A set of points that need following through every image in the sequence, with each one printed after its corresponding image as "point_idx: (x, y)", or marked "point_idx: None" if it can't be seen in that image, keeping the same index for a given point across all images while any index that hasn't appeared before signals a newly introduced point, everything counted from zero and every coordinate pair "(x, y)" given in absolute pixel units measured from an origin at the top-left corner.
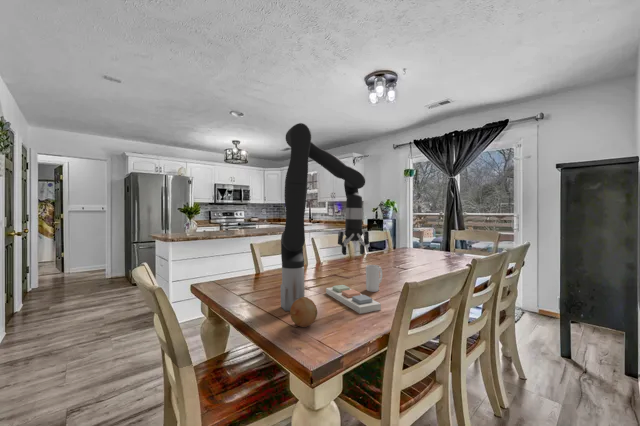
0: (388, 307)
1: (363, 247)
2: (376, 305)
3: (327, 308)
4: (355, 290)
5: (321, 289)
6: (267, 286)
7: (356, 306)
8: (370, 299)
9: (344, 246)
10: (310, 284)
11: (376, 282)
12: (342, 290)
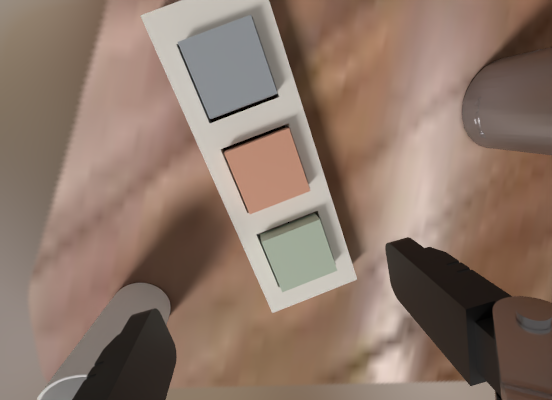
0: (105, 55)
1: (87, 397)
2: (167, 7)
3: (378, 78)
4: (242, 193)
5: (356, 315)
6: None
7: (270, 7)
8: (189, 38)
9: (500, 316)
10: (386, 375)
11: (108, 310)
12: (298, 224)
